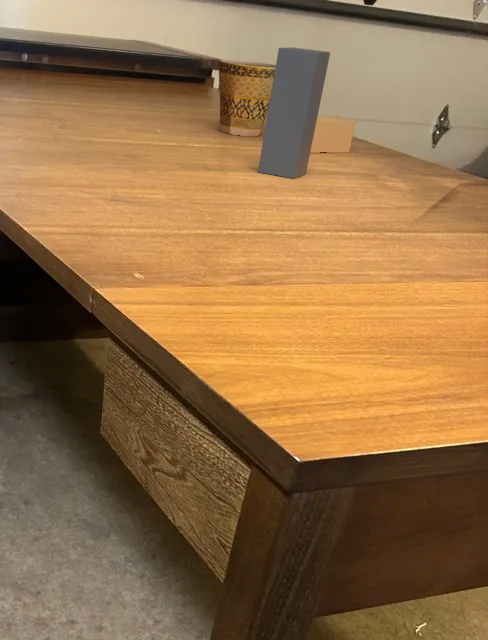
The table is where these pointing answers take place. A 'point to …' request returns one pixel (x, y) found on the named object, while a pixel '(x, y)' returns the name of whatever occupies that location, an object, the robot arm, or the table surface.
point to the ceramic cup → (244, 96)
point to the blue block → (293, 111)
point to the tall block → (332, 134)
